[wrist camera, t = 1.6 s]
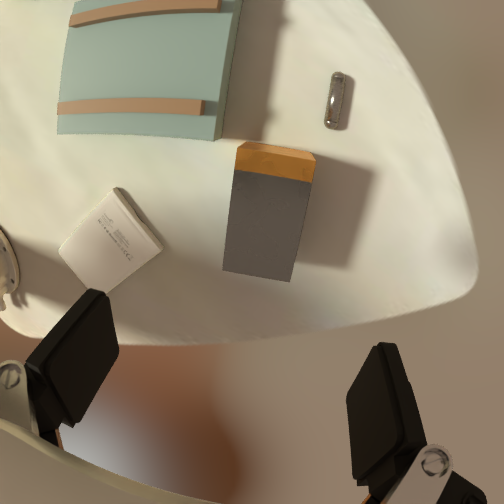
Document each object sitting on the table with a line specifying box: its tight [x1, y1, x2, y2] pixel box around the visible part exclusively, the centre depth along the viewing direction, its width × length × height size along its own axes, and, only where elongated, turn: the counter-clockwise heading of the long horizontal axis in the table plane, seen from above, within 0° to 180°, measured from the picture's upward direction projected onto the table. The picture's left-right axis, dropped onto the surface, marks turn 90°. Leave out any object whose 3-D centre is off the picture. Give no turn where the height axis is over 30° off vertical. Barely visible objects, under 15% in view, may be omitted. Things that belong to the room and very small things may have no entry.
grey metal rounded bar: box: [324, 72, 346, 129], centre depth 22 cm, size 5×1×1 cm, turn 171°
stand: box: [57, 0, 243, 141], centre depth 20 cm, size 14×16×4 cm
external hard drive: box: [58, 187, 164, 294], centre depth 31 cm, size 2×8×12 cm
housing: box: [222, 142, 316, 282], centre depth 25 cm, size 10×6×5 cm, turn 172°
